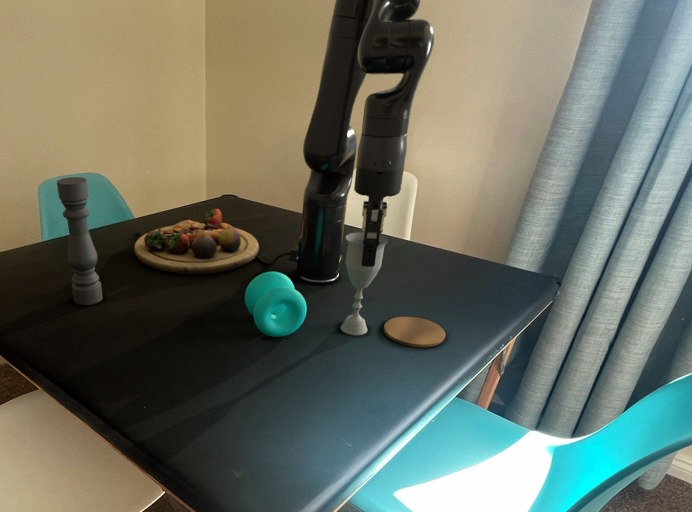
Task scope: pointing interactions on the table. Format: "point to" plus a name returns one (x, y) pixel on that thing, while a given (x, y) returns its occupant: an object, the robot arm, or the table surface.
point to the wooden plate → (197, 246)
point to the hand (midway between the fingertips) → (368, 257)
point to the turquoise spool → (275, 304)
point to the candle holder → (80, 241)
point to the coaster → (414, 331)
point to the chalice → (360, 277)
